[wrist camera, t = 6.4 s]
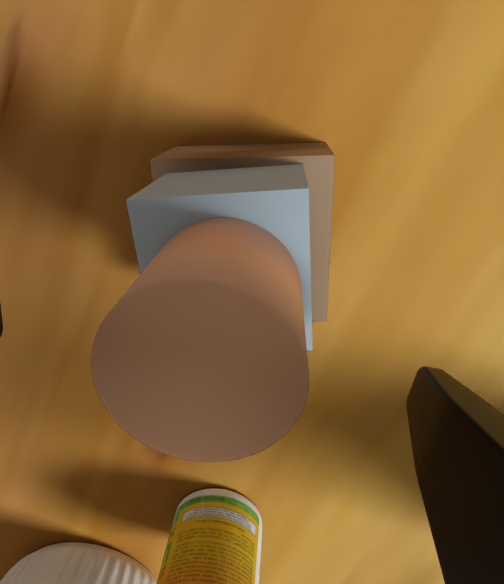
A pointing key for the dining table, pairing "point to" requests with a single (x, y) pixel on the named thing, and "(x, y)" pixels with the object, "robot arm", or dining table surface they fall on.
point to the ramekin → (77, 566)
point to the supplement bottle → (213, 540)
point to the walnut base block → (310, 155)
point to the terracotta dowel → (207, 345)
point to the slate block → (228, 211)
